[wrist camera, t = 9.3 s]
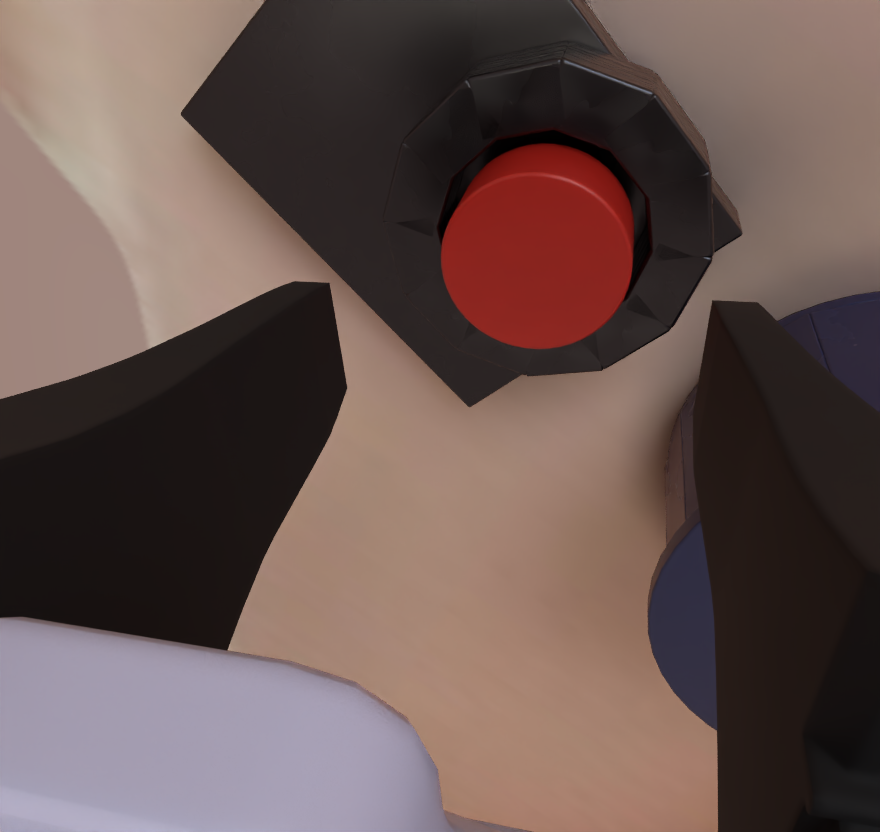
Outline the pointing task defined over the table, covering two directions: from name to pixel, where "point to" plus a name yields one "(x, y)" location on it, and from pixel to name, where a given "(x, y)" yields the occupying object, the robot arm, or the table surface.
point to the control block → (457, 156)
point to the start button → (540, 247)
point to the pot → (830, 342)
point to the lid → (685, 620)
